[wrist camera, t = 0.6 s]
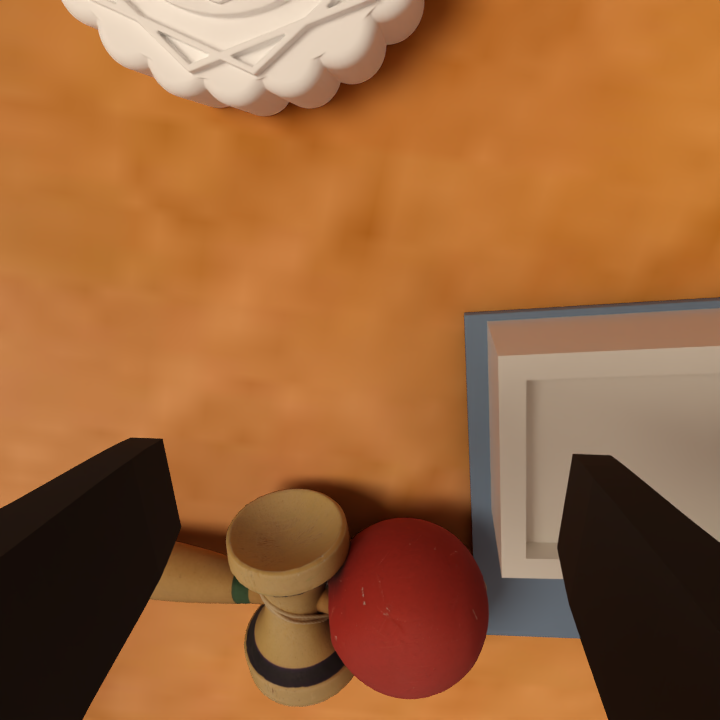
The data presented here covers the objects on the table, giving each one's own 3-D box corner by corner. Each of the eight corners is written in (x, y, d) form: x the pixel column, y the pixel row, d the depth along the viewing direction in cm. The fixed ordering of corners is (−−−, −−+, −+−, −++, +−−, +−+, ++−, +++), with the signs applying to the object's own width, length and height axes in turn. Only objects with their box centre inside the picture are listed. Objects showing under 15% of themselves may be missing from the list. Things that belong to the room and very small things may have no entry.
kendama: (130, 594, 27) (490, 662, 22) (20, 682, 21) (479, 803, 16) (119, 448, 26) (495, 484, 21) (-1, 498, 20) (485, 565, 15)
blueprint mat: (931, 643, 20) (941, 652, 20) (475, 626, 23) (476, 634, 23) (1044, 277, 16) (1058, 280, 15) (464, 312, 19) (464, 315, 18)
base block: (702, 508, 19) (761, 583, 16) (491, 508, 21) (501, 577, 17) (727, 307, 17) (802, 341, 13) (487, 321, 18) (497, 356, 15)
